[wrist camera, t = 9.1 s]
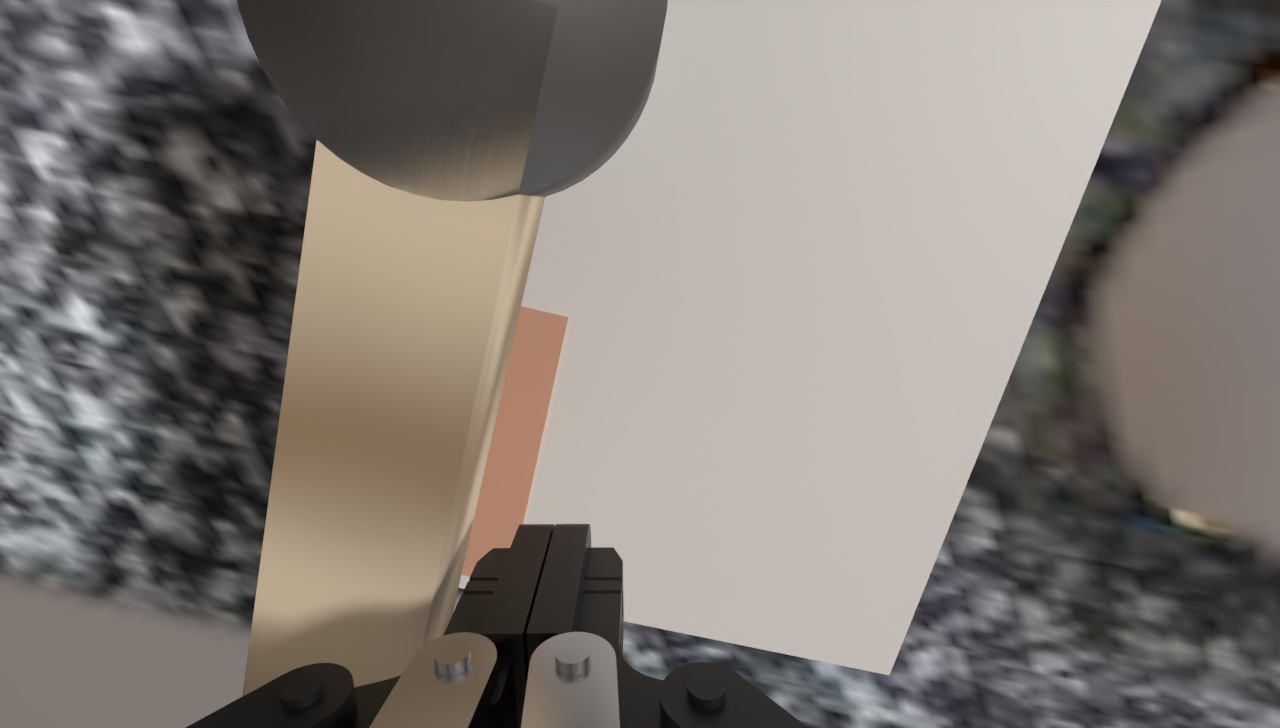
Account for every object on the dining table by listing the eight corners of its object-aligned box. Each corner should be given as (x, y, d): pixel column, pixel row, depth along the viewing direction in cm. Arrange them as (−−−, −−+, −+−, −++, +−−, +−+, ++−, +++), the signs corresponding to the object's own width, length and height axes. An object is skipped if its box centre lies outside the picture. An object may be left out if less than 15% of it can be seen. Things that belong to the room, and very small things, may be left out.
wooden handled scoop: (358, -205, 11) (255, -360, 8) (698, -97, 11) (722, -206, 8) (250, 615, 14) (154, 719, 12) (505, 670, 15) (474, 782, 12)
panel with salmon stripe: (317, 527, 19) (225, 621, 15) (430, -338, 14) (340, -584, 10) (870, 641, 20) (935, 760, 16) (1164, -112, 15) (1377, -239, 11)
